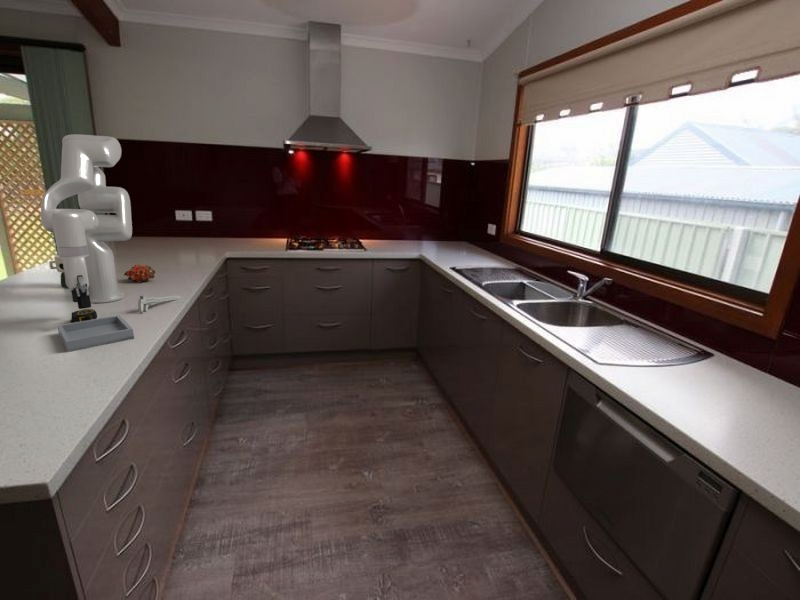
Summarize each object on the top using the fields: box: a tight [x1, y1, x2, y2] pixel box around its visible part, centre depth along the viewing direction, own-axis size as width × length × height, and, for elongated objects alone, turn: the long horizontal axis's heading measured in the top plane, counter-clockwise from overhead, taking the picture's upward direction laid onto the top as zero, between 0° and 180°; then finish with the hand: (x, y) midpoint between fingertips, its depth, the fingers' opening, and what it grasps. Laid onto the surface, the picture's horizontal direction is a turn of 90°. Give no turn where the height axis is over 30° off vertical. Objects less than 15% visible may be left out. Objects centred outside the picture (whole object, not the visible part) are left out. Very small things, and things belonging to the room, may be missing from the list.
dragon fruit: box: [123, 263, 156, 284], centre depth 184 cm, size 8×8×12 cm
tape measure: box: [70, 308, 98, 323], centre depth 136 cm, size 7×7×4 cm
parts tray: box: [56, 314, 135, 353], centre depth 126 cm, size 16×16×3 cm
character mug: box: [48, 254, 68, 288], centre depth 170 cm, size 11×7×13 cm, turn 129°
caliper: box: [137, 294, 183, 314], centre depth 156 cm, size 21×1×6 cm, turn 169°
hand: (82, 304), depth 134 cm, fingers open, 9 cm apart
